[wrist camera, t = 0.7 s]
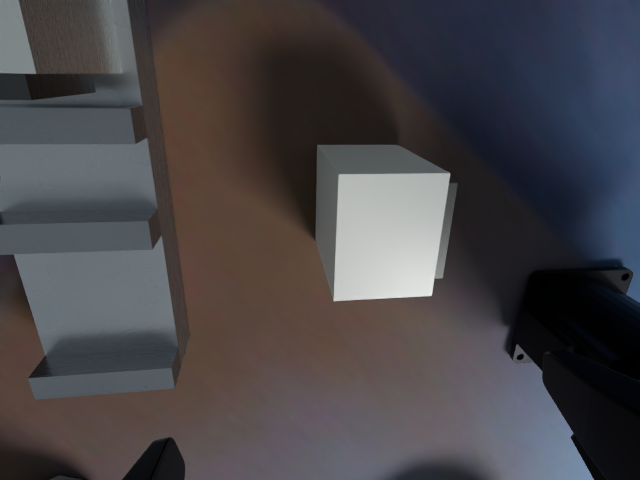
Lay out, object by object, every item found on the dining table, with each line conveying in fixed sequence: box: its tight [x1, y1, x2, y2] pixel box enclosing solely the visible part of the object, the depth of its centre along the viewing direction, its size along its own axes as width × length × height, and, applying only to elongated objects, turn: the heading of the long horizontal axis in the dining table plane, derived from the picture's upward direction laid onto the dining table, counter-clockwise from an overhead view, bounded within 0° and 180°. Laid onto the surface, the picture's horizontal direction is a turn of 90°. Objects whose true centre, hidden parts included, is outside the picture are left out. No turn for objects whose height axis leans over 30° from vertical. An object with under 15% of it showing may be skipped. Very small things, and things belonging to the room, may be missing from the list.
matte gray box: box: [315, 145, 458, 301], centre depth 17 cm, size 5×5×6 cm
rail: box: [0, 0, 190, 399], centre depth 14 cm, size 6×20×8 cm, turn 179°
